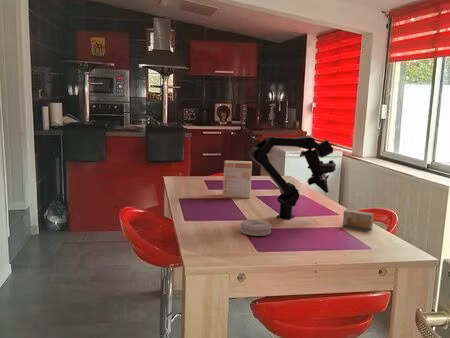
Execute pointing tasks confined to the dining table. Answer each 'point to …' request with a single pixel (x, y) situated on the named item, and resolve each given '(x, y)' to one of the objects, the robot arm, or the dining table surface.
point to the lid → (255, 227)
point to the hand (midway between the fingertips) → (327, 192)
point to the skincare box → (358, 218)
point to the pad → (356, 228)
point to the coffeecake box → (237, 179)
